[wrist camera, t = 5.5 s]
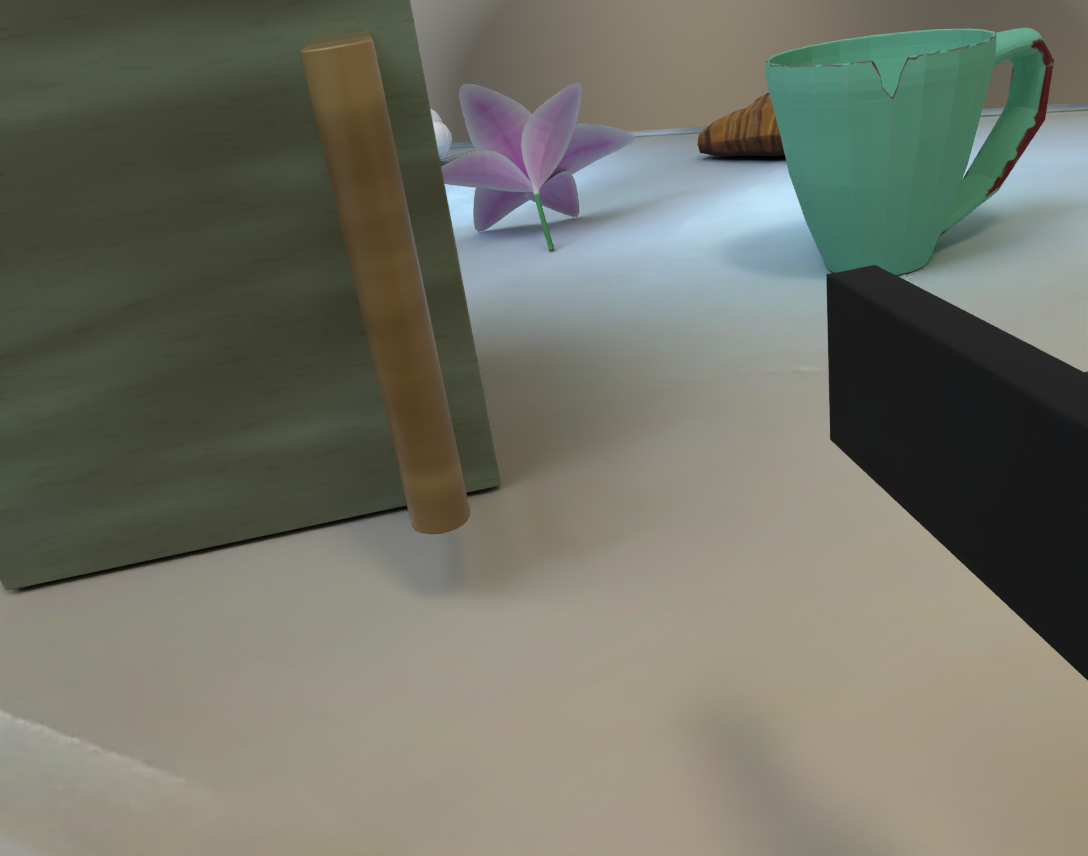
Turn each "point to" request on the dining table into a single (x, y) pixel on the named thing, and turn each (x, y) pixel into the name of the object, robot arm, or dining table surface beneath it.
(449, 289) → the cupboard door
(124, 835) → the dining table surface
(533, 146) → the lily
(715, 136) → the croissant
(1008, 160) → the mug
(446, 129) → the microfossil shell
